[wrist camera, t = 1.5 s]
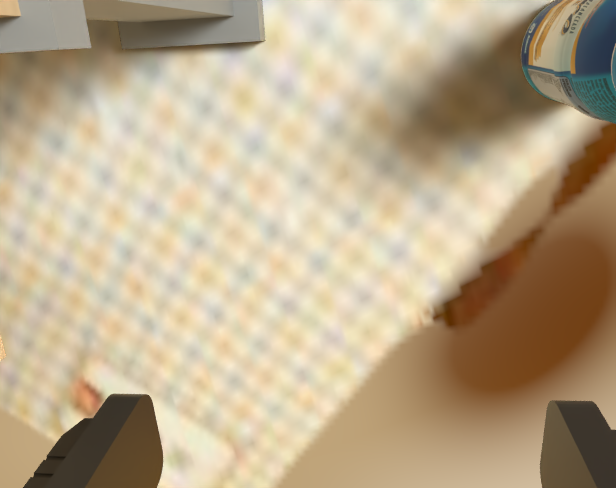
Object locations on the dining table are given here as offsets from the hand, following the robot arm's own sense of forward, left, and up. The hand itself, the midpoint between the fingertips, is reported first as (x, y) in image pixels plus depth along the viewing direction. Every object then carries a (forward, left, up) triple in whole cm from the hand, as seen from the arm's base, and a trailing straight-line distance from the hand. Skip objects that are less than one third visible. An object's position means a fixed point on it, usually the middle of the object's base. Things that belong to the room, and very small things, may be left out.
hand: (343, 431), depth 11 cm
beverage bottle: (+16, +6, -40) cm, 43 cm away
